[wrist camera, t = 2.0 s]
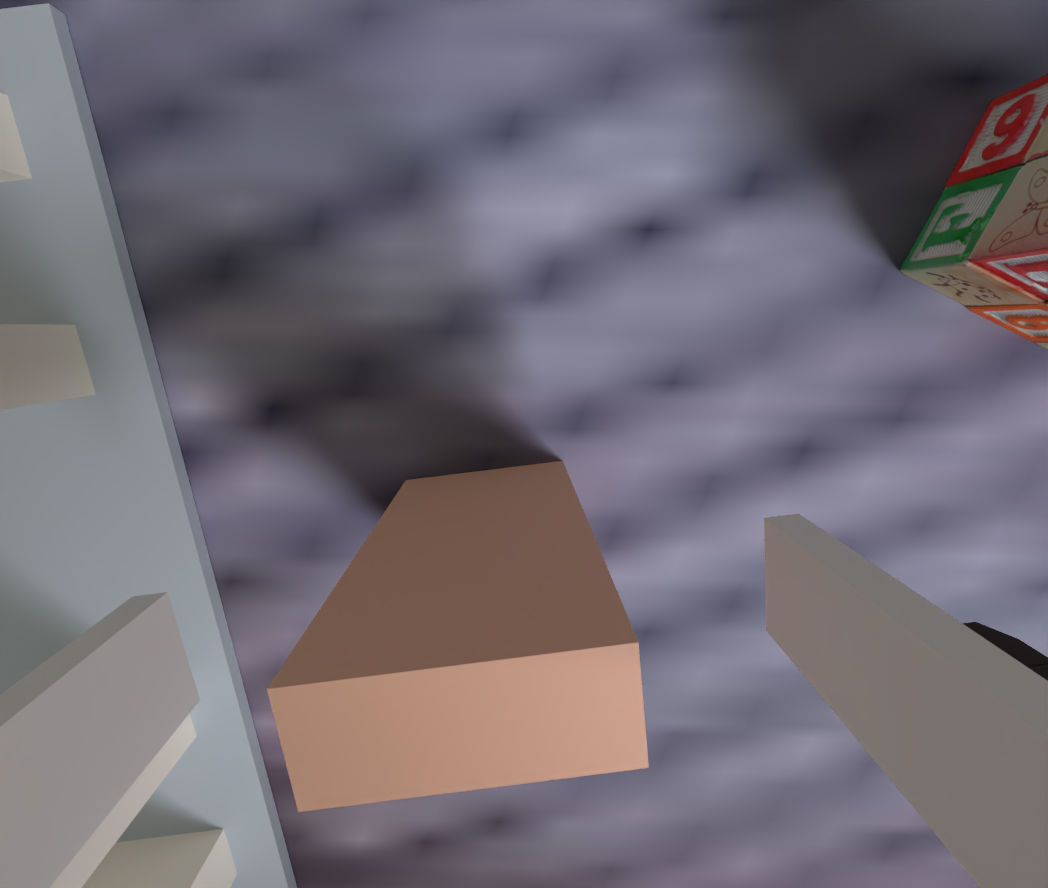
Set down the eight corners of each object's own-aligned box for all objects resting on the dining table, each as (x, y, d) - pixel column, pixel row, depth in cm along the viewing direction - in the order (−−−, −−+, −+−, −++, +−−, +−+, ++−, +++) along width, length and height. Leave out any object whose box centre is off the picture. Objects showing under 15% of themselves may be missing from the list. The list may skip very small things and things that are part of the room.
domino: (568, 520, 21) (648, 767, 9) (415, 538, 21) (298, 811, 9) (562, 460, 20) (638, 642, 9) (405, 480, 20) (266, 689, 9)
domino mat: (299, 895, 24) (294, 909, 24) (80, 923, 24) (69, 938, 24) (64, 14, 17) (48, 3, 16) (-255, 52, 17) (-283, 42, 16)
